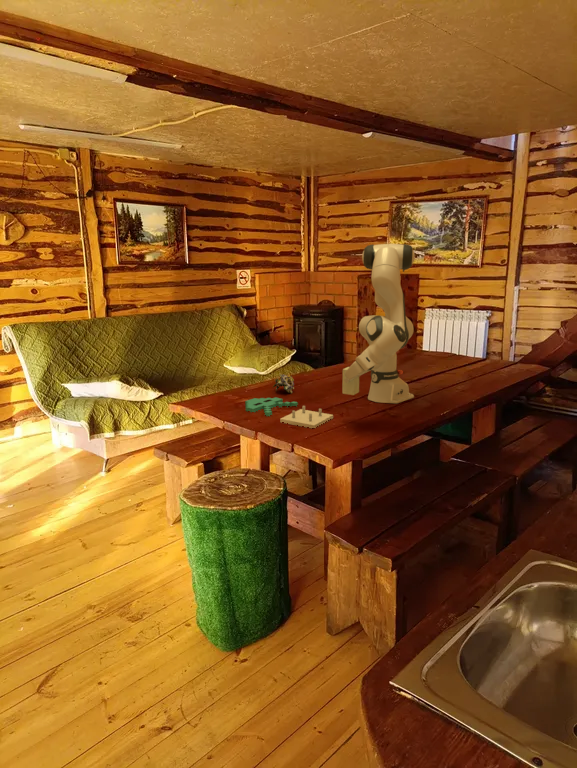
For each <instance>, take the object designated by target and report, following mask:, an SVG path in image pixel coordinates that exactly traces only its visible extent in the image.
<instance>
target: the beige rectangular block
mask: <svg viewBox="0 0 577 768" xmlns="http://www.w3.org/2000/svg"><path fill="white" fill-rule="evenodd" d="M349 367H350V366H347V367H345V368H342V385H341V386H342V387H341V388H342V394H344V395H349V396H350V395H351V396H355V395H356V394H358V393H360V376H358V377H356V378H354V379H352V380H350V381H349V382H348V383H346V382H345V381H344V379H345V378H346V377H345V375H344V373H345V372H346V370H347V369H348V368H349Z"/></svg>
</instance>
